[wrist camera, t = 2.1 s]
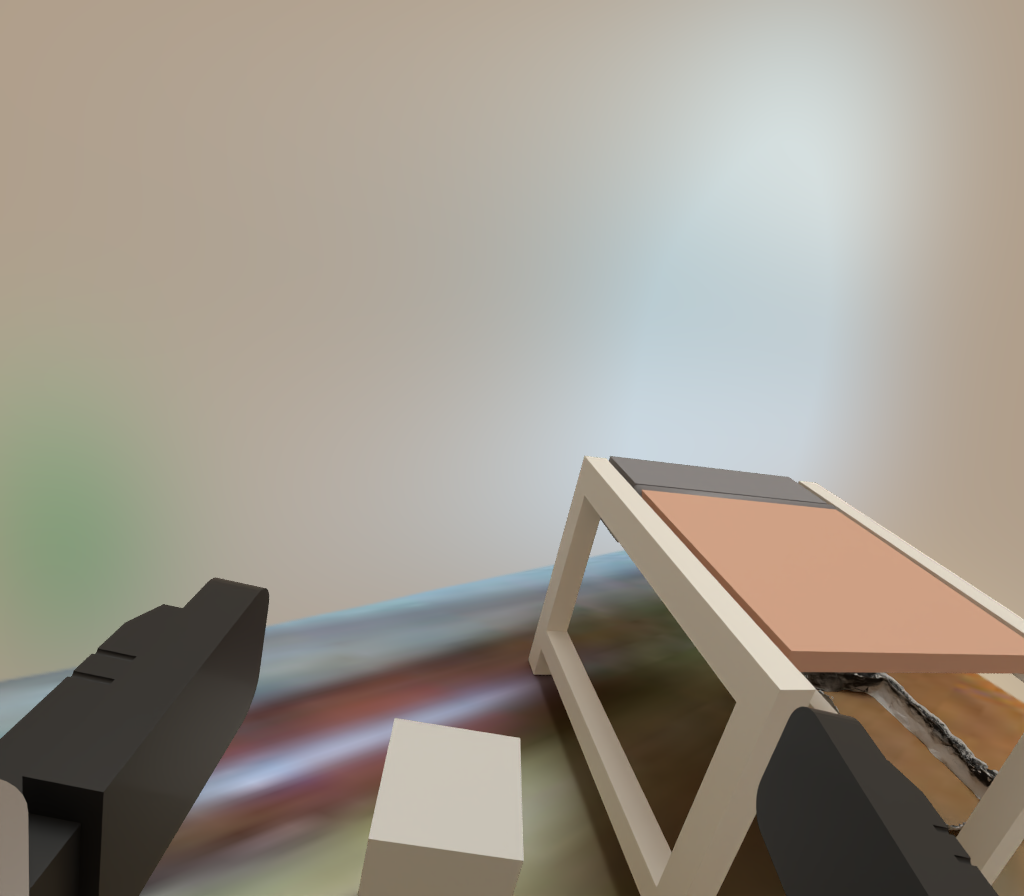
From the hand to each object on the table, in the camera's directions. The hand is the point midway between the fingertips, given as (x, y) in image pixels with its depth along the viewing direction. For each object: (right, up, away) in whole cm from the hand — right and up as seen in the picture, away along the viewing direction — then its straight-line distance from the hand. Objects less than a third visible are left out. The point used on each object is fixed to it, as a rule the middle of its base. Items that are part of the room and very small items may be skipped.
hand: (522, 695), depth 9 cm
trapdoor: (+14, -5, +26) cm, 30 cm away
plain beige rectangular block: (-4, -17, +16) cm, 24 cm away
